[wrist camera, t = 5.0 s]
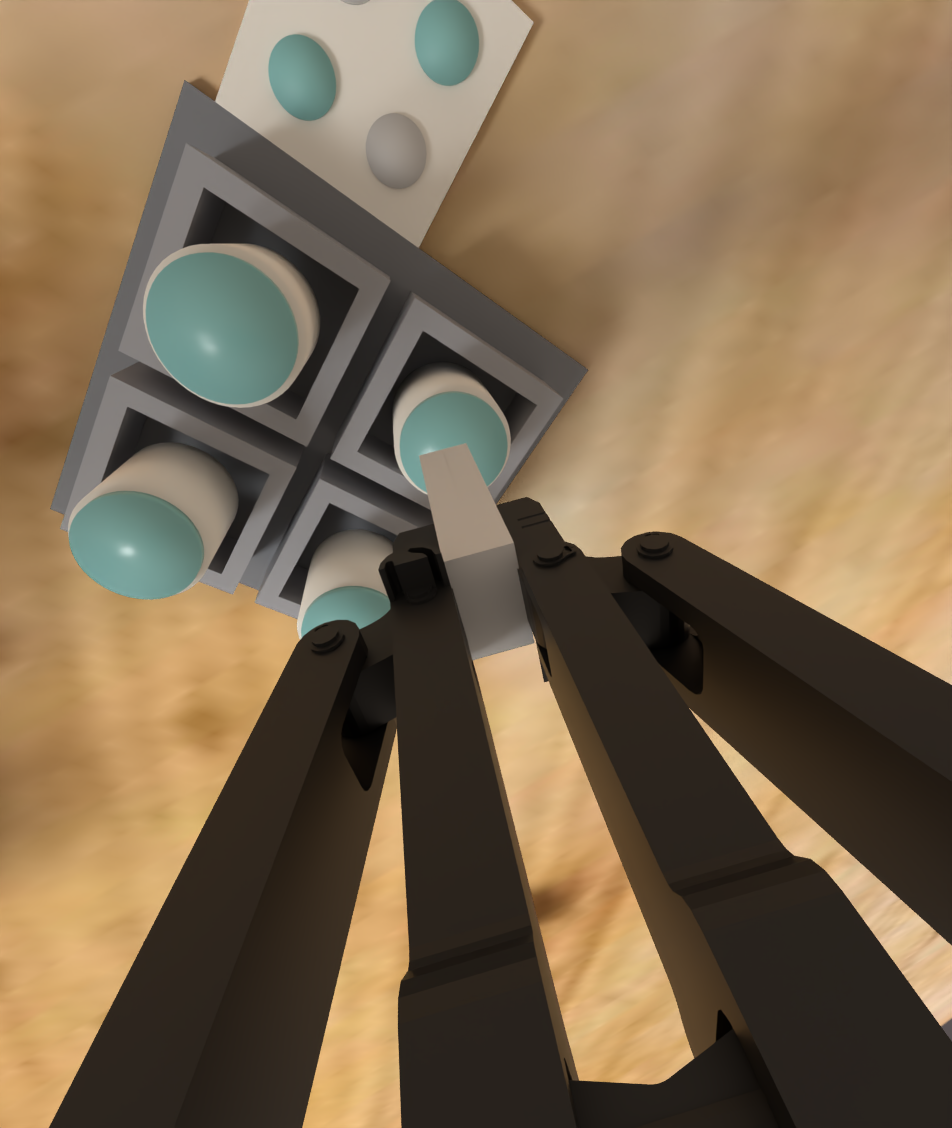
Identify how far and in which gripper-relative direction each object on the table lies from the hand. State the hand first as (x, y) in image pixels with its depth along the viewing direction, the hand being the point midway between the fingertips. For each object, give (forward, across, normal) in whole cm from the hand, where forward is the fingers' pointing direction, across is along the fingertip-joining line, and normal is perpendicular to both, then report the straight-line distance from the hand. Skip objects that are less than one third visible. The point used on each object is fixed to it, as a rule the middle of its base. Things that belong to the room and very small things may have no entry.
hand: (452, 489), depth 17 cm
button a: (+8, +1, 0) cm, 8 cm away
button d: (+7, -11, 0) cm, 13 cm away
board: (+10, -5, 0) cm, 11 cm away
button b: (+7, -5, -6) cm, 10 cm away
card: (+10, +1, +12) cm, 16 cm away
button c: (+7, -5, +6) cm, 10 cm away
